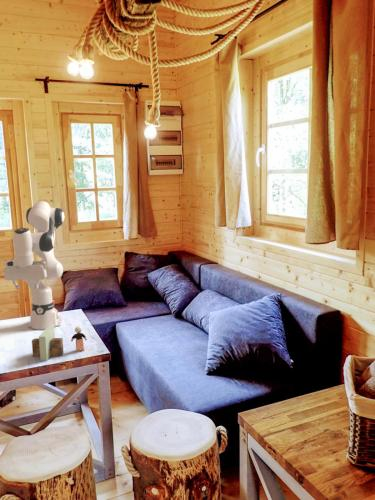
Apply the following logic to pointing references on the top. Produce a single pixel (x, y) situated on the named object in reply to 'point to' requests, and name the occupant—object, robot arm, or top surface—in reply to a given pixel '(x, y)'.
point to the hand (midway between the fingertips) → (26, 288)
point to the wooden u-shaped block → (54, 350)
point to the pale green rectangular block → (46, 343)
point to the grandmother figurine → (79, 339)
